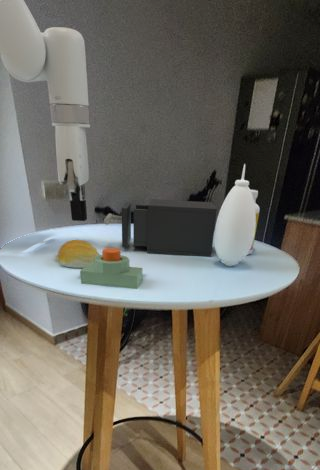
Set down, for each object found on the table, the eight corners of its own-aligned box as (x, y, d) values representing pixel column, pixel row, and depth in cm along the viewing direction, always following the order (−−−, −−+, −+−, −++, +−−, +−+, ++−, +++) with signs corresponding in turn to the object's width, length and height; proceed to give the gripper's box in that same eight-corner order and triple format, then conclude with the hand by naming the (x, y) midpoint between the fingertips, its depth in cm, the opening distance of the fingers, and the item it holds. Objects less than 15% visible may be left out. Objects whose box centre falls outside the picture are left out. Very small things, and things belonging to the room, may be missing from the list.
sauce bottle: (204, 261, 79) (215, 161, 68) (234, 259, 82) (249, 162, 71) (223, 271, 73) (239, 164, 63) (255, 268, 76) (275, 165, 66)
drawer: (103, 246, 83) (101, 207, 78) (109, 237, 90) (107, 201, 85) (181, 250, 83) (184, 211, 78) (180, 241, 90) (183, 205, 85)
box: (80, 284, 63) (78, 260, 61) (90, 274, 68) (88, 251, 66) (136, 289, 62) (136, 265, 60) (142, 279, 67) (143, 256, 65)
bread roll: (57, 269, 70) (54, 247, 67) (59, 257, 77) (57, 236, 74) (101, 269, 71) (99, 247, 69) (99, 257, 78) (98, 237, 76)
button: (100, 262, 62) (100, 251, 61) (105, 258, 64) (105, 247, 63) (118, 263, 62) (117, 253, 61) (122, 259, 64) (122, 248, 63)
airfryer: (147, 253, 83) (148, 205, 77) (149, 243, 91) (150, 198, 85) (211, 256, 83) (216, 208, 77) (207, 246, 91) (212, 202, 85)
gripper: (60, 118, 79) (70, 214, 90) (41, 115, 67) (55, 225, 78) (95, 120, 79) (100, 215, 90) (82, 116, 67) (90, 227, 78)
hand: (79, 219), depth 84 cm, fingers closed
